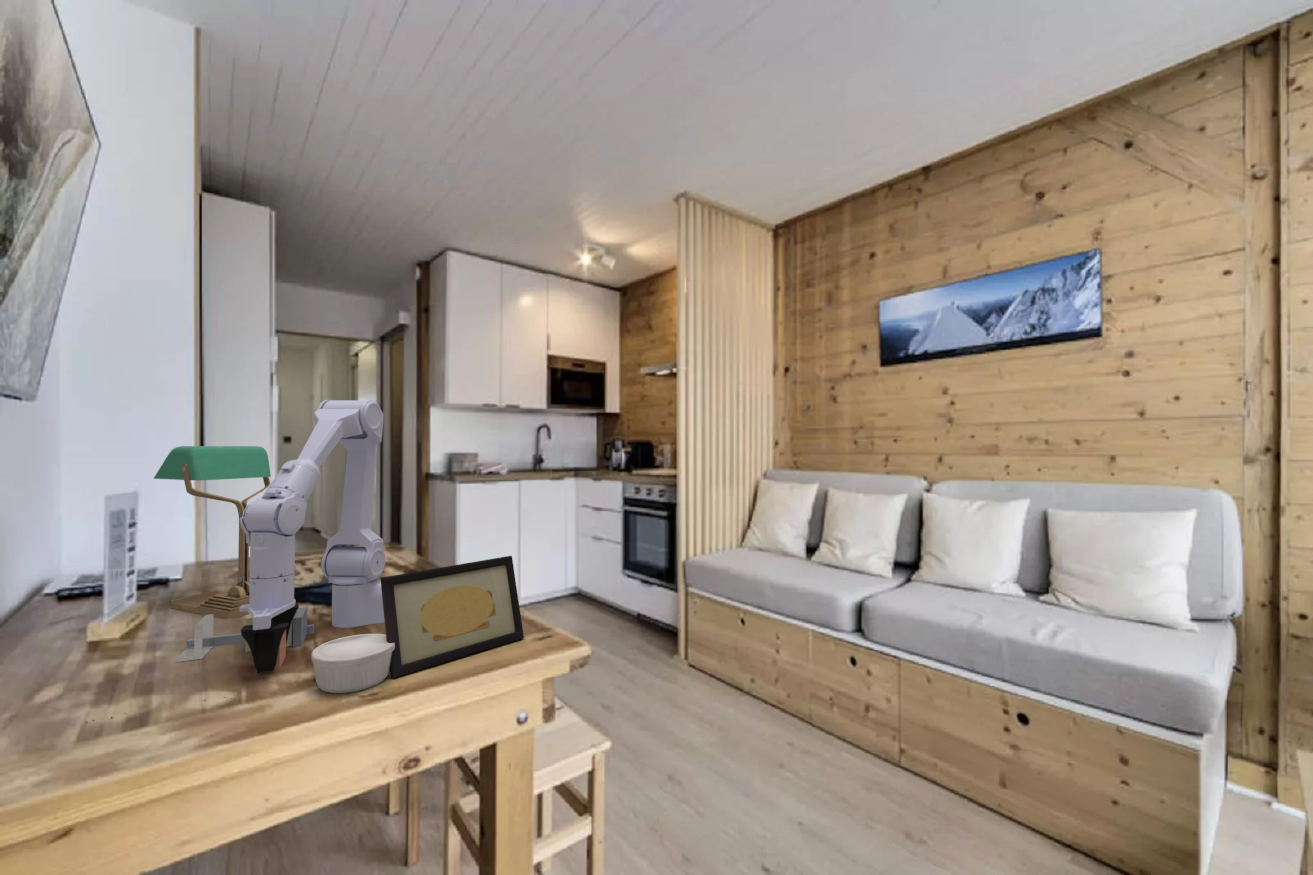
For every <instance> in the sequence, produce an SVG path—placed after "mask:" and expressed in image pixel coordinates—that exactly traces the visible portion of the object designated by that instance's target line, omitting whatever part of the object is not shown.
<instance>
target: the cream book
mask: <svg viewBox="0 0 1313 875" xmlns="http://www.w3.org/2000/svg"><path fill="white" fill-rule="evenodd" d="M296 613H297V612H296ZM296 613H295V614H296ZM294 616H295V615H294ZM287 647H293V620H292V623H291V626H290V630H289V634H288V639H287V643H286V648H287Z"/></svg>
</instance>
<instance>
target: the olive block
mask: <svg viewBox="0 0 1313 875" xmlns="http://www.w3.org/2000/svg"><path fill="white" fill-rule="evenodd" d="M246 625H253V617H252V616H251V615H250V614H248V616H247V617H246V618H245V626H246ZM244 651H245V653H249V652H251V650H250V647H249V645H248V643H247V642H245V648H244Z"/></svg>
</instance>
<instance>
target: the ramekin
mask: <svg viewBox="0 0 1313 875" xmlns="http://www.w3.org/2000/svg"><path fill="white" fill-rule="evenodd" d="M394 649H395V643H388V642H387V641H386V633H385V634H384V633H363V634H361V633H360V634H354V635H349V636H343V637H340V638H336V639H332V640H329V641H326V642H324V643H322V644H320V645H318V646H317V647H315V648H314V649H313V650H312V652H311V654H310V656H311V658H310V659H311V663H312V664H313V670H314V677H315V682H316V686H317V687H318V688H319V689H321V690H322V691H323V692H325V693H330V694H347V693H354V692H358V691H362V690H366V689H369V688H372V687H374V686H376V685H378V684H380V683H382V682H383V681H384V680H385V679H386V678H387V677H388V675H390V672H389V671H390V662H391V655H392V651H393V650H394Z"/></svg>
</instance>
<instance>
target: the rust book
mask: <svg viewBox="0 0 1313 875" xmlns="http://www.w3.org/2000/svg"><path fill="white" fill-rule="evenodd" d="M286 658H287V647H286V630H285V632H284V634H283V636H282V639H281V643H280V647H279V652H278V658H277V663H276V666H275V669H274V670H280V669H281V667H282V665H283V663H284V662H285V659H286ZM255 673H257V671H256V670H255Z"/></svg>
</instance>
